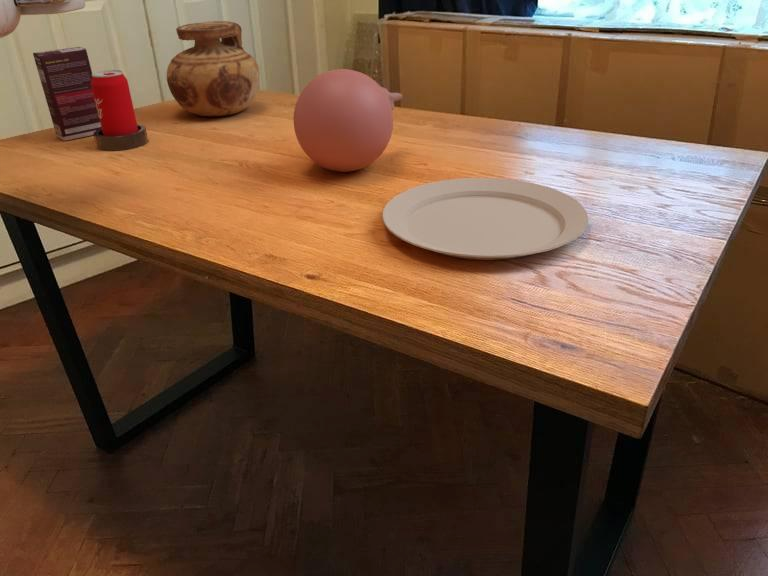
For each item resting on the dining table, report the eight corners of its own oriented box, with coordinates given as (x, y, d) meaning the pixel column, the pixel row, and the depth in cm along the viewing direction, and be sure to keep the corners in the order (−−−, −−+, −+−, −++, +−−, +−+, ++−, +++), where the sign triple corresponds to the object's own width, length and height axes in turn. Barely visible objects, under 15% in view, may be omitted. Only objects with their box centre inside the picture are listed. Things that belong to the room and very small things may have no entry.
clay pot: (227, 113, 128) (181, 10, 123) (172, 139, 140) (128, 45, 134) (288, 92, 142) (249, -2, 137) (233, 117, 154) (196, 31, 148)
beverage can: (124, 133, 127) (110, 68, 121) (146, 136, 124) (133, 70, 118) (97, 141, 122) (80, 74, 116) (119, 145, 119) (104, 77, 113)
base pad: (96, 153, 118) (92, 139, 117) (97, 140, 126) (93, 127, 125) (149, 146, 121) (146, 133, 120) (147, 134, 129) (144, 121, 127)
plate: (626, 223, 83) (628, 208, 83) (500, 295, 68) (501, 278, 67) (470, 178, 100) (471, 165, 99) (341, 228, 85) (340, 214, 84)
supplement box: (99, 128, 134) (79, 45, 126) (107, 132, 130) (87, 48, 123) (55, 137, 129) (31, 52, 121) (62, 142, 126) (38, 54, 118)
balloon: (435, 163, 107) (436, 64, 100) (334, 193, 96) (326, 85, 89) (377, 143, 118) (373, 53, 110) (280, 168, 107) (269, 71, 100)
